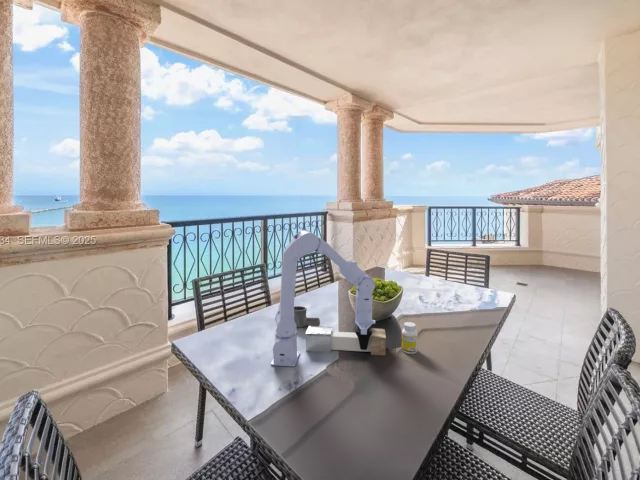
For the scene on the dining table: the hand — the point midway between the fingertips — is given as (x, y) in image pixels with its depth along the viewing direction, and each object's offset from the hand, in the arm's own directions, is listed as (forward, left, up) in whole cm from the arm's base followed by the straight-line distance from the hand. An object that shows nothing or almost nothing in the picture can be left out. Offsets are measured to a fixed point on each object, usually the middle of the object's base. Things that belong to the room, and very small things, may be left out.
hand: (363, 345), depth 115 cm
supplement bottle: (+1, -16, -2) cm, 16 cm away
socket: (0, -5, -2) cm, 5 cm away
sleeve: (0, +16, -2) cm, 16 cm away
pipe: (+18, +25, -2) cm, 31 cm away
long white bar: (0, +4, -1) cm, 4 cm away
